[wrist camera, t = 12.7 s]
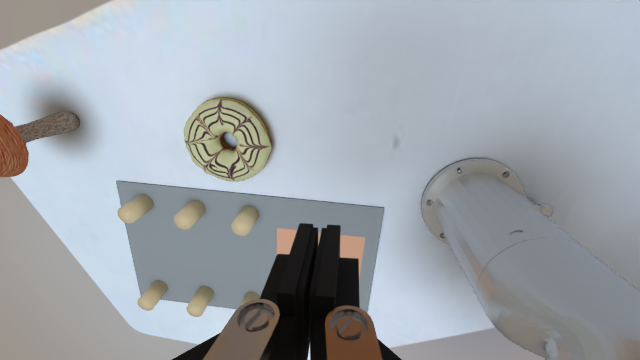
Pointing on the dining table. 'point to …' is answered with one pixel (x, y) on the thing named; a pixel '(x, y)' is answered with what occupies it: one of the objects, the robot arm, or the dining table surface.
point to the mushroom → (28, 139)
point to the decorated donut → (210, 148)
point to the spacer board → (229, 241)
